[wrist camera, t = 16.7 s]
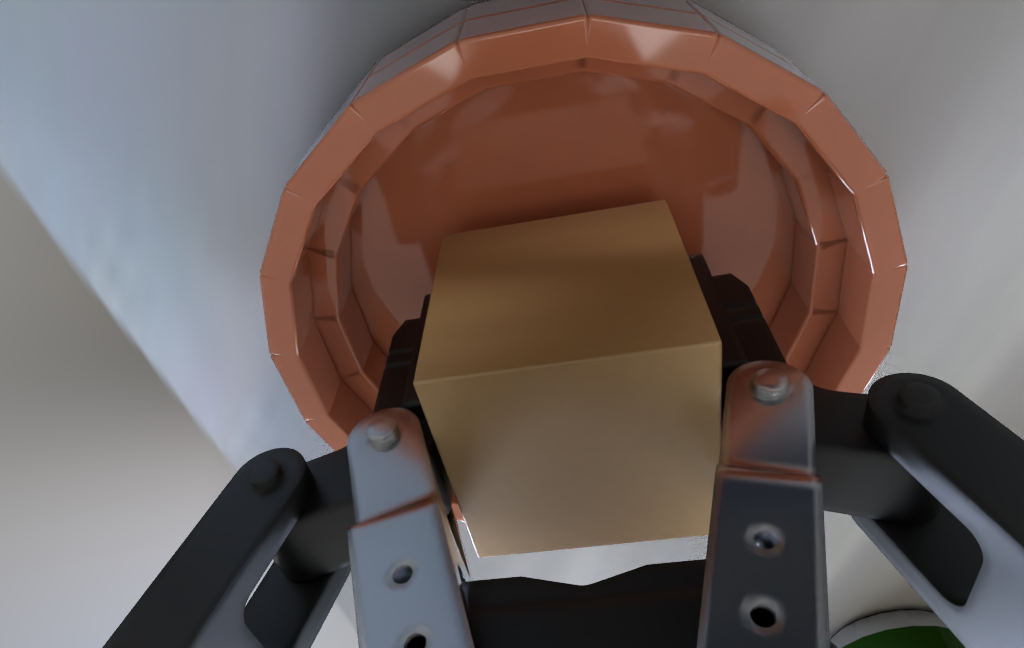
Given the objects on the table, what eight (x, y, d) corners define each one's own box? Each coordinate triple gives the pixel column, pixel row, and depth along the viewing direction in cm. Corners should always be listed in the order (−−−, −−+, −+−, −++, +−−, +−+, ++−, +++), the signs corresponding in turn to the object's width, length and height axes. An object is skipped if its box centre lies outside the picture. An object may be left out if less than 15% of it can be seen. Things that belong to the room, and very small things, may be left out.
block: (487, 395, 16) (476, 559, 12) (442, 234, 13) (411, 383, 10) (674, 370, 15) (721, 534, 12) (666, 198, 13) (723, 341, 9)
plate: (394, 469, 20) (376, 557, 17) (209, 52, 13) (134, 104, 10) (815, 421, 18) (859, 510, 16) (877, -86, 11) (976, -64, 9)
